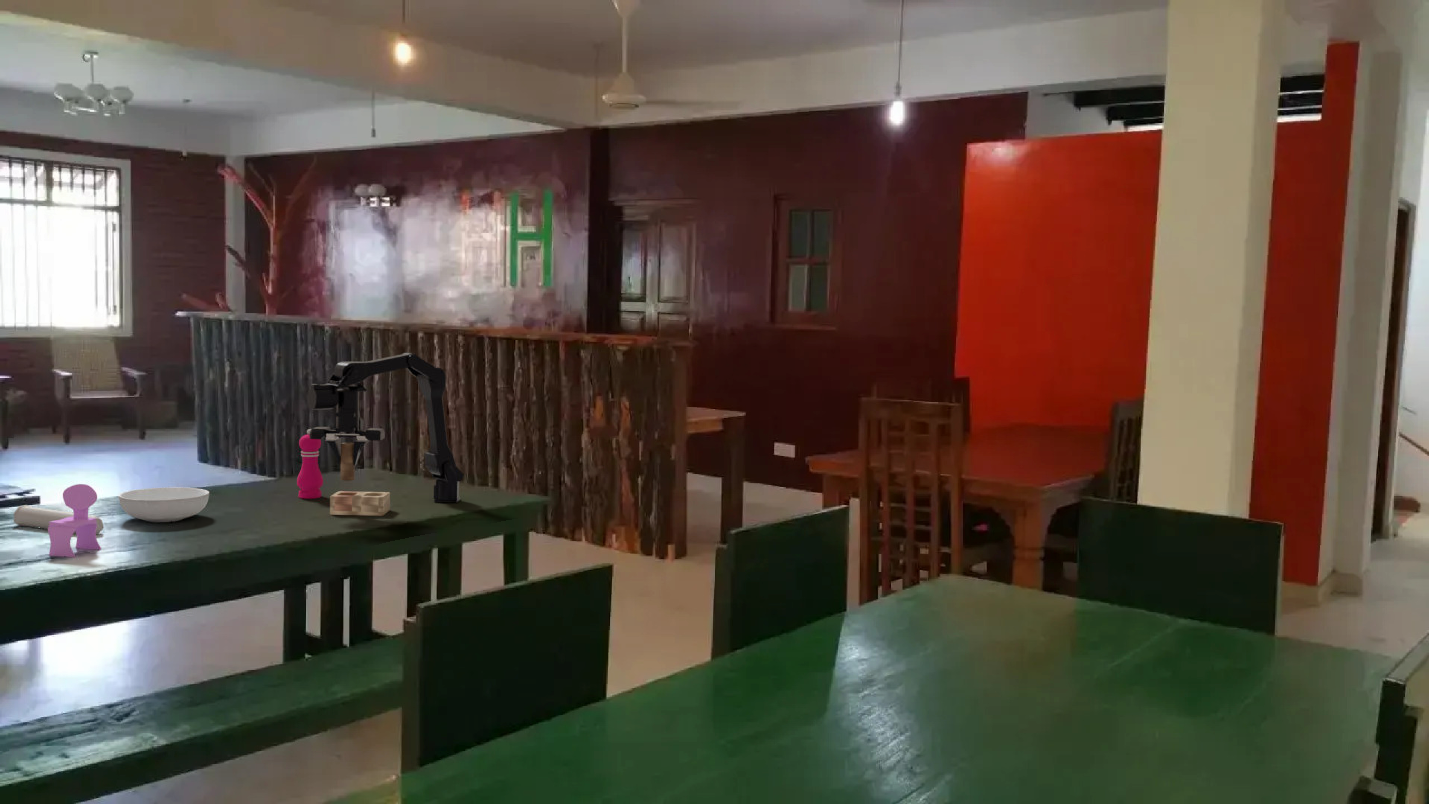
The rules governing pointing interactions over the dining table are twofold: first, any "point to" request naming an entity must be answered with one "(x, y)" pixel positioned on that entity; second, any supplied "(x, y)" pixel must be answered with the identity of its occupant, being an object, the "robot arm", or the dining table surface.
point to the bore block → (359, 503)
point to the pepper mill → (309, 468)
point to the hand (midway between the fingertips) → (347, 465)
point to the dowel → (347, 461)
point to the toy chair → (74, 522)
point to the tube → (45, 517)
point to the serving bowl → (163, 503)
